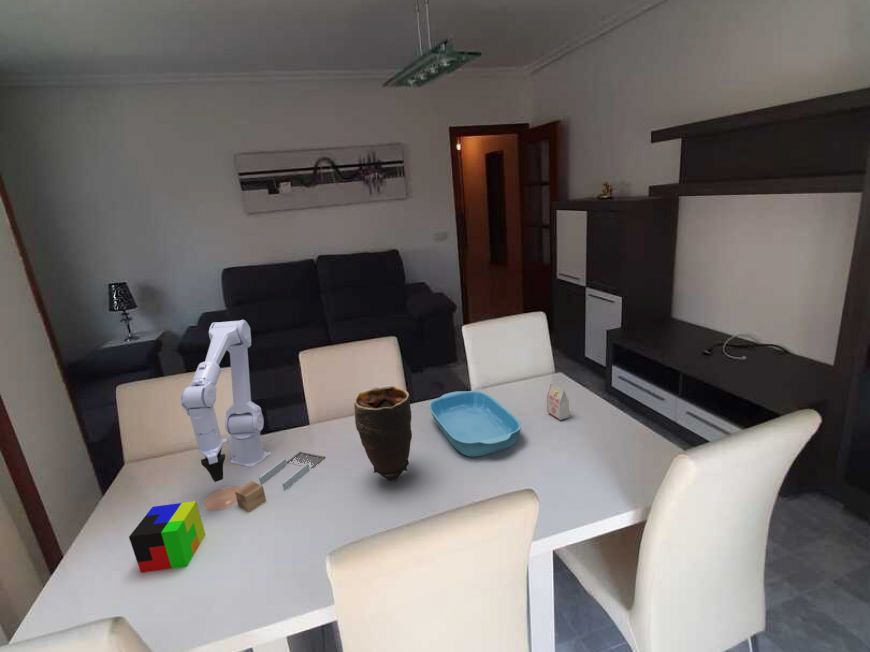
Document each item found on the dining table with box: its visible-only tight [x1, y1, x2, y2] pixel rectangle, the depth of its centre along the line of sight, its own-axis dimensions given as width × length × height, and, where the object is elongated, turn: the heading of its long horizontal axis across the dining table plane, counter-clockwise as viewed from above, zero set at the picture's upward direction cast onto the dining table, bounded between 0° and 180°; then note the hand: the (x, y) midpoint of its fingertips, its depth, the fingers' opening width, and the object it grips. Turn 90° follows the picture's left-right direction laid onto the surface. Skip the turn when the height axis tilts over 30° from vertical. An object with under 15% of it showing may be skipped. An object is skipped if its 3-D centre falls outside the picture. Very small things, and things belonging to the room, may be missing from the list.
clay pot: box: [353, 384, 413, 482], centre depth 123 cm, size 15×15×25 cm
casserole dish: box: [428, 390, 522, 458], centre depth 146 cm, size 37×22×7 cm, turn 20°
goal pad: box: [203, 486, 241, 511], centre depth 124 cm, size 10×10×1 cm
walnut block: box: [235, 480, 267, 513], centre depth 120 cm, size 5×5×5 cm
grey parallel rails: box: [258, 458, 310, 491], centre depth 131 cm, size 9×10×2 cm
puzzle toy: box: [128, 500, 206, 573], centre depth 104 cm, size 10×10×10 cm
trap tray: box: [286, 451, 326, 469], centre depth 139 cm, size 10×6×1 cm, turn 65°
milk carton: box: [546, 383, 570, 421], centre depth 152 cm, size 4×7×10 cm, turn 23°
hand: (217, 474), depth 122 cm, fingers open, 5 cm apart
